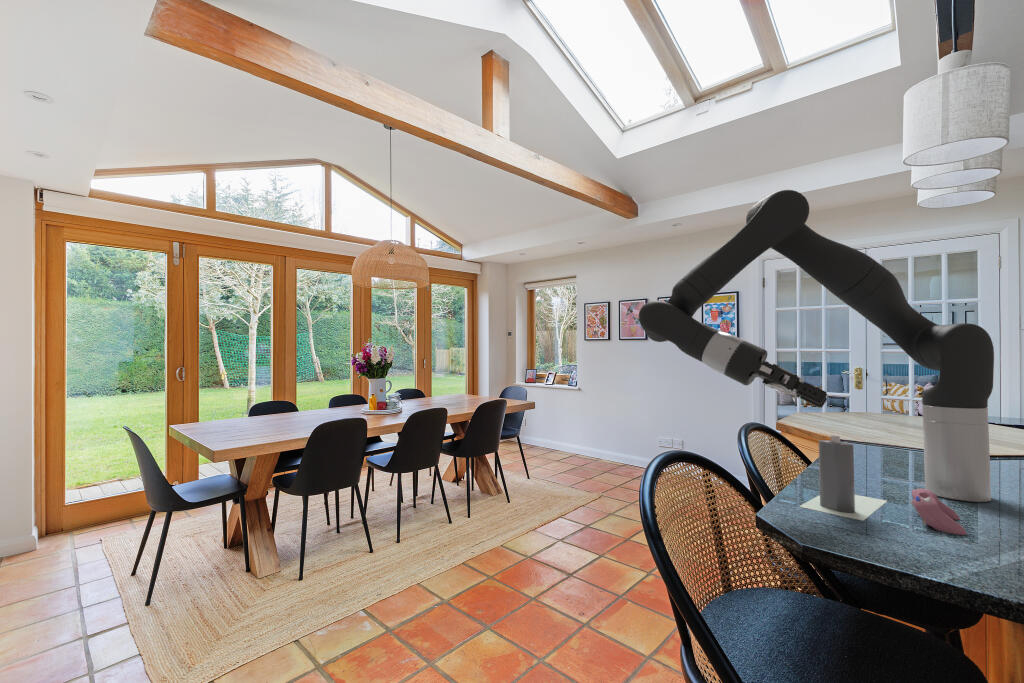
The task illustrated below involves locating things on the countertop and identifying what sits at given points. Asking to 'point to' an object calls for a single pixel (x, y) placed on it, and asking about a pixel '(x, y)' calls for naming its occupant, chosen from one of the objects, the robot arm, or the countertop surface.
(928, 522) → the video game controller
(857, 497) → the mat
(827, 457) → the candle
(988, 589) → the countertop surface
